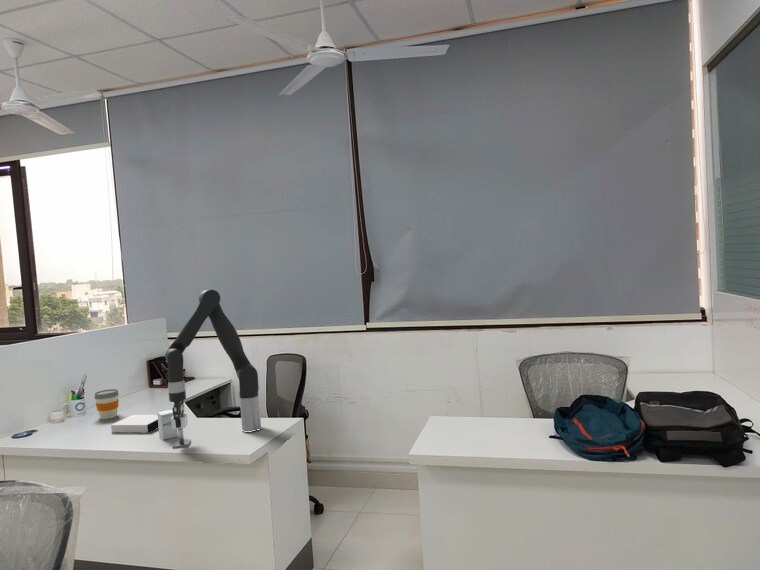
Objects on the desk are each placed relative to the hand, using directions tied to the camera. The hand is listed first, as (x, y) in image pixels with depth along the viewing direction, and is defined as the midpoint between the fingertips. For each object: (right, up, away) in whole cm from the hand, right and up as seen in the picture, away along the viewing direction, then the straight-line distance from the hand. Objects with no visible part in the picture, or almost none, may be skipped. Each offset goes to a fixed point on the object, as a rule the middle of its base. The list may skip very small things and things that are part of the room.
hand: (180, 425), depth 248 cm
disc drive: (-34, -11, +33) cm, 49 cm away
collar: (0, -1, 0) cm, 1 cm away
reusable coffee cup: (-65, -11, +59) cm, 88 cm away
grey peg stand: (+1, -9, 0) cm, 9 cm away
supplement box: (-11, -10, +14) cm, 21 cm away
